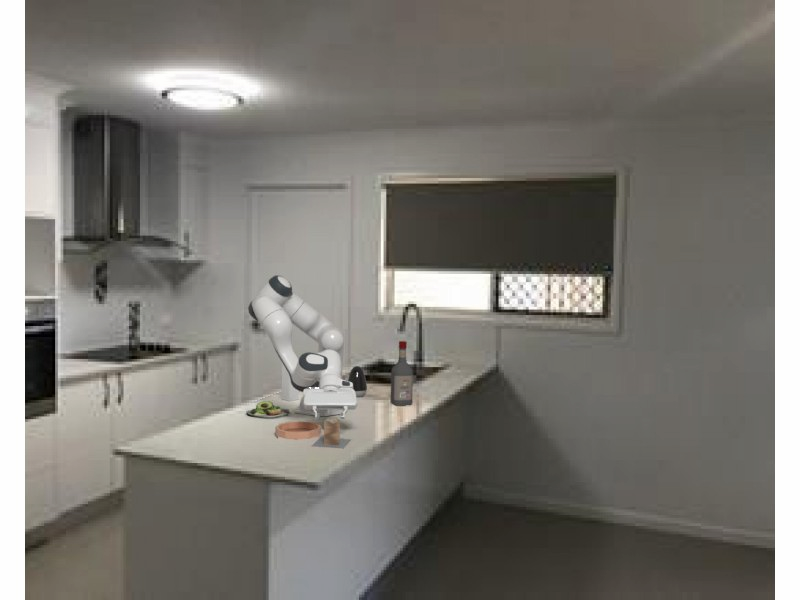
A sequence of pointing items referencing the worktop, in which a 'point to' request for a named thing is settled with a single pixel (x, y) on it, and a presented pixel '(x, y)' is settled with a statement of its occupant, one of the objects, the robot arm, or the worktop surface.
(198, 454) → the worktop surface
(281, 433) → the bowl
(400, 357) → the liquor
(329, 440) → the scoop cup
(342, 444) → the parts tray
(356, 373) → the black egg-shaped dome
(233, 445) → the worktop surface
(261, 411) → the salad plate
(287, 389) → the milk
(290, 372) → the robot arm
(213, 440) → the worktop surface
